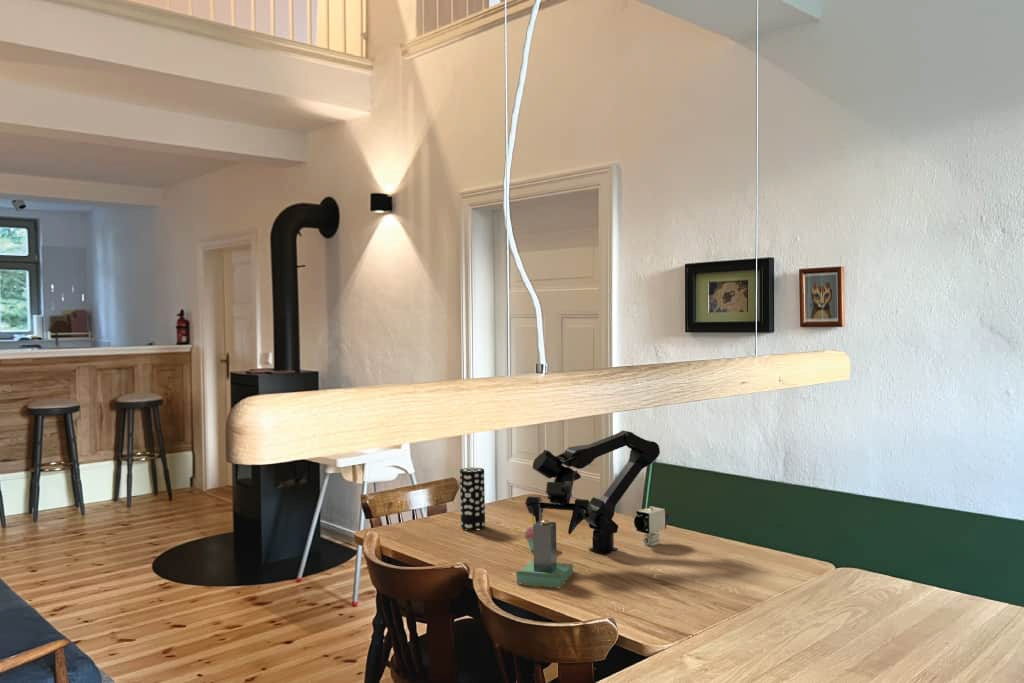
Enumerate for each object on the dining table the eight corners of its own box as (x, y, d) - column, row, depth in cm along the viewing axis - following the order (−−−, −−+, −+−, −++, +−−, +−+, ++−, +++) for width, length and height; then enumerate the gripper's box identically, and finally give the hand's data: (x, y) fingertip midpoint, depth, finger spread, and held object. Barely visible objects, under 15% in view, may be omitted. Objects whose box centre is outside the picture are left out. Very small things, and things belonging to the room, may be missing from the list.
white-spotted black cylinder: (457, 526, 267) (456, 469, 266) (479, 523, 270) (478, 466, 270) (466, 532, 259) (465, 473, 259) (489, 529, 263) (487, 470, 262)
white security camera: (669, 542, 243) (669, 504, 243) (645, 550, 235) (644, 510, 235) (655, 539, 247) (655, 501, 247) (631, 546, 240) (631, 507, 239)
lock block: (539, 565, 214) (538, 518, 213) (556, 567, 212) (555, 519, 212) (533, 571, 209) (533, 522, 209) (551, 573, 207) (550, 523, 207)
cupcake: (529, 554, 233) (528, 515, 233) (521, 546, 241) (520, 508, 241) (555, 551, 235) (555, 512, 235) (547, 544, 243) (546, 506, 243)
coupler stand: (531, 569, 219) (531, 557, 219) (572, 573, 215) (572, 560, 215) (516, 583, 206) (516, 571, 206) (560, 588, 202) (559, 575, 202)
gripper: (526, 468, 225) (515, 515, 215) (588, 471, 219) (580, 519, 209) (535, 489, 233) (524, 535, 223) (595, 493, 227) (587, 540, 217)
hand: (553, 532), depth 218 cm, fingers open, 9 cm apart
